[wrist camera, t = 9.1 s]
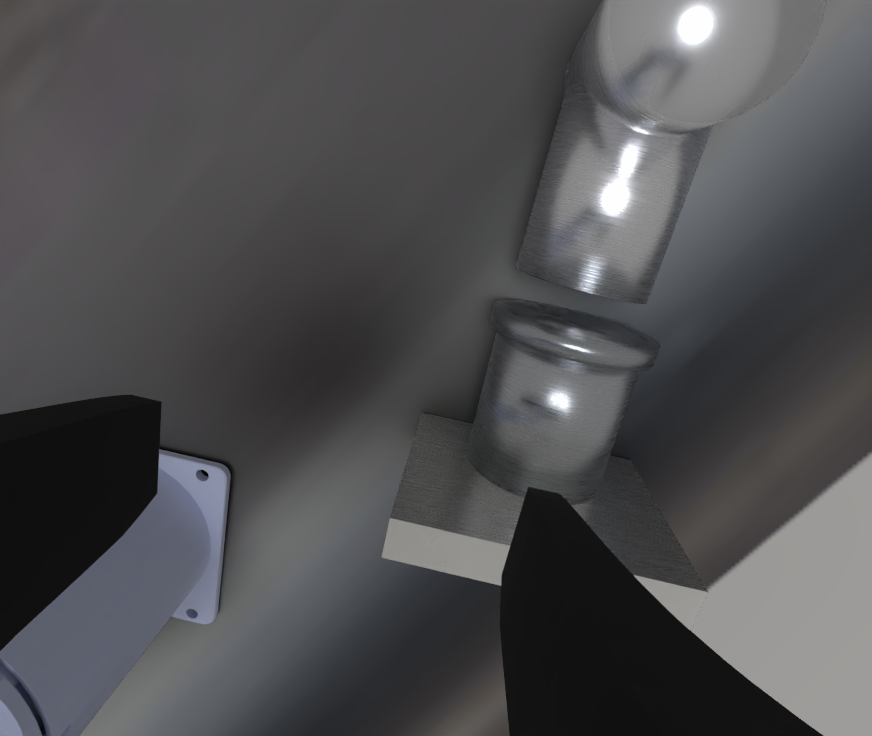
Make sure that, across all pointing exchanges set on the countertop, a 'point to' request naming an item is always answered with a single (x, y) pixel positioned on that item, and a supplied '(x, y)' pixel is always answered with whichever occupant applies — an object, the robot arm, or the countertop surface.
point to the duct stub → (540, 456)
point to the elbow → (649, 129)
